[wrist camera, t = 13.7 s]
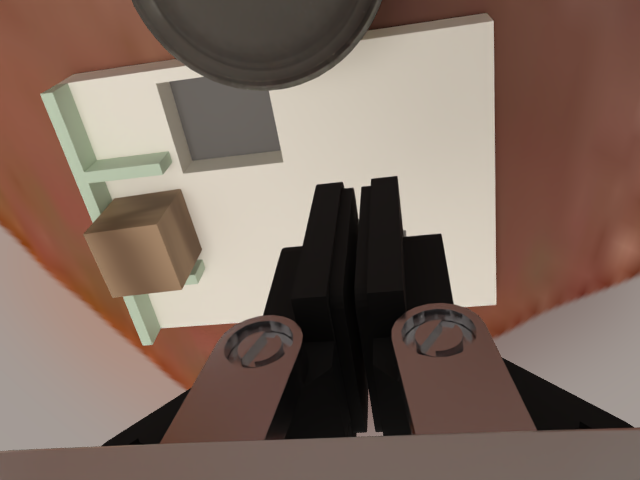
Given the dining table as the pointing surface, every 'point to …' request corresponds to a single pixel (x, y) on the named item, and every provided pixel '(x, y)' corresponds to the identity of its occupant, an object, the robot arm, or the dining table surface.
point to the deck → (294, 158)
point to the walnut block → (144, 243)
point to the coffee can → (258, 37)
